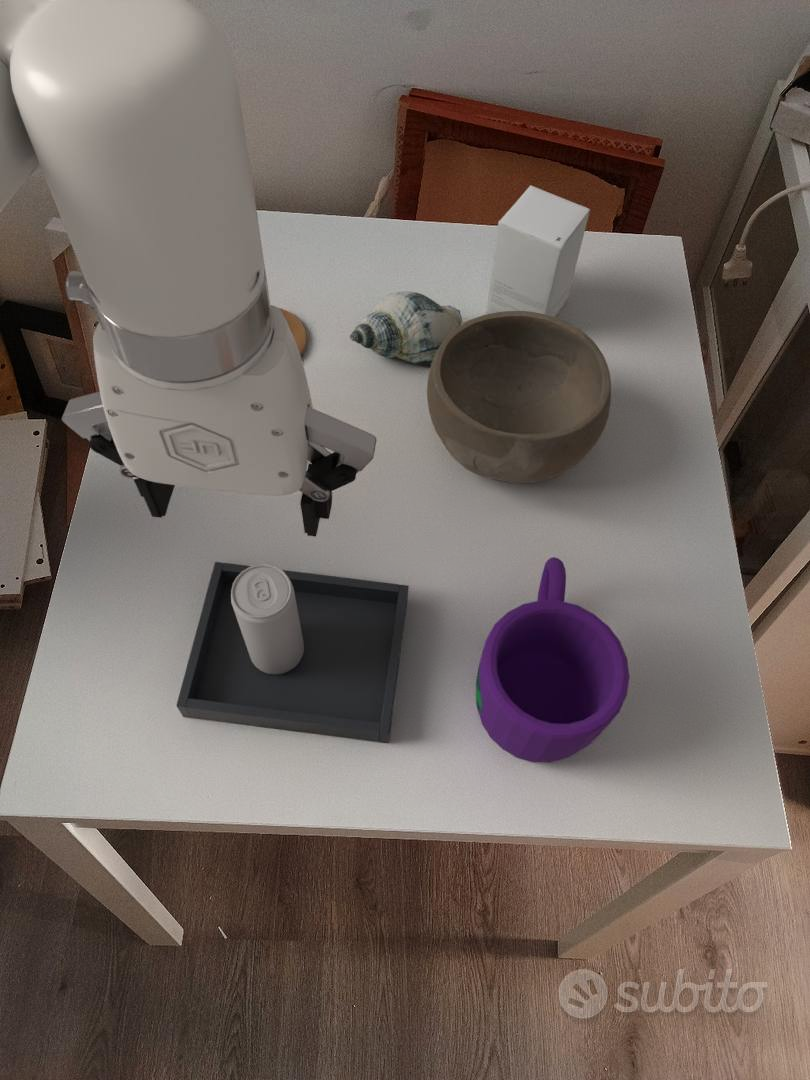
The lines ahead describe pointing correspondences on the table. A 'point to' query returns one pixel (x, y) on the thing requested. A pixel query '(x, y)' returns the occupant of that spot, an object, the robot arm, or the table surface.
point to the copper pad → (296, 330)
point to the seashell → (407, 327)
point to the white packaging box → (536, 254)
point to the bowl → (518, 395)
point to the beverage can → (268, 618)
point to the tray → (302, 660)
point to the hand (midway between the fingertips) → (239, 507)
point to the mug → (550, 675)
